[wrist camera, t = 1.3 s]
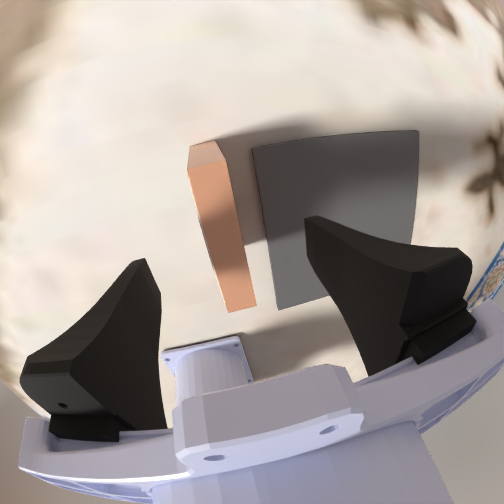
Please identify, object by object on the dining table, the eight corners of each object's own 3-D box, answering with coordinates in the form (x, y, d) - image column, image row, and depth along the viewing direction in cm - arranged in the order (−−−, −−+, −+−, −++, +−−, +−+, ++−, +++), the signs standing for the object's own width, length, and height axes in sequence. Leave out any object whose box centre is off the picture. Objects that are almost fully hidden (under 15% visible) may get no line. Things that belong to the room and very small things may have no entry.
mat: (403, 266, 25) (405, 269, 25) (277, 307, 24) (278, 310, 24) (415, 130, 18) (418, 131, 17) (251, 148, 17) (252, 149, 16)
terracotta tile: (238, 247, 20) (256, 305, 15) (215, 252, 20) (226, 313, 15) (214, 140, 16) (226, 160, 11) (188, 146, 16) (184, 170, 10)
